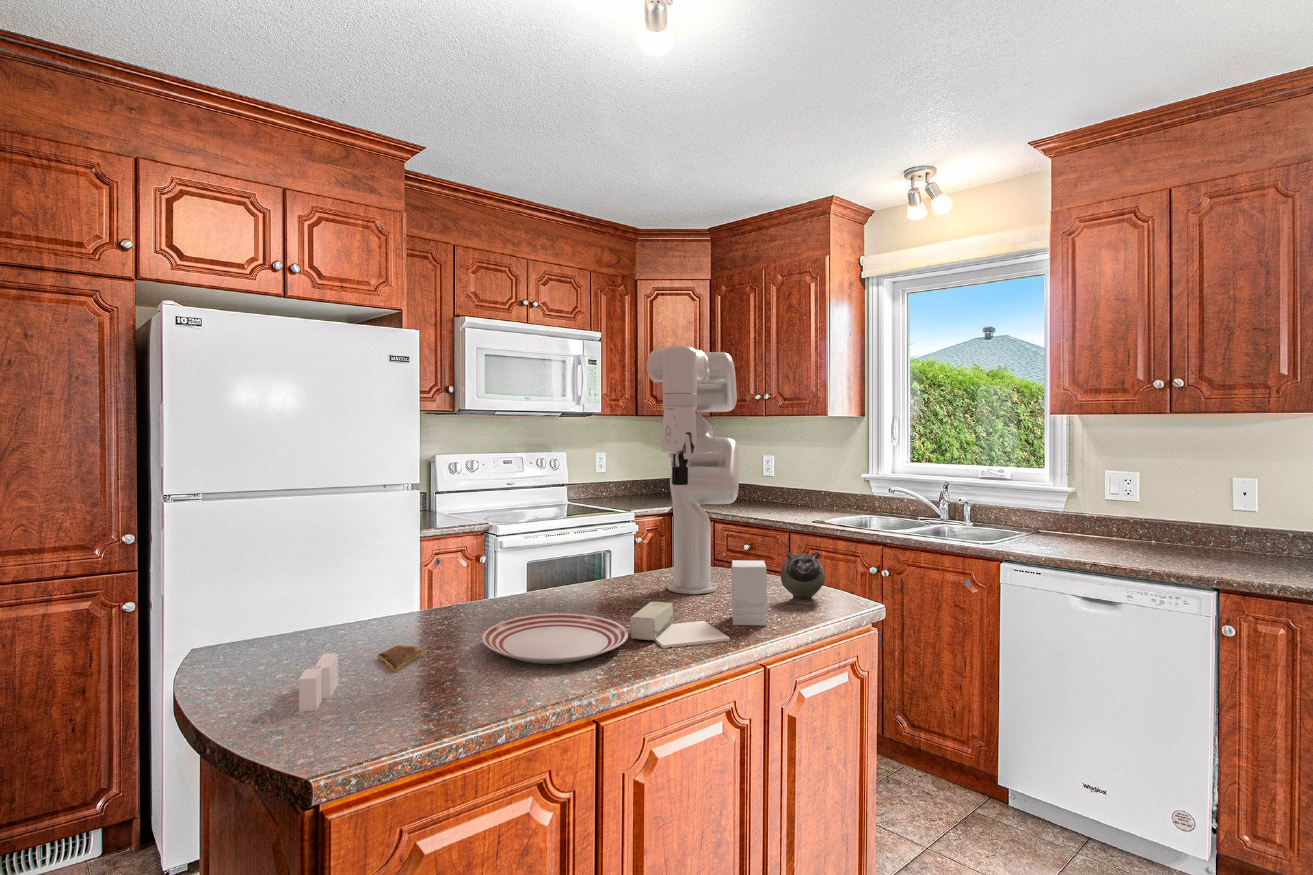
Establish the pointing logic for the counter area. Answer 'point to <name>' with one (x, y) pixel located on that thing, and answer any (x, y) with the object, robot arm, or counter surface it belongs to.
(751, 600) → the supplement box
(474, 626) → the counter surface
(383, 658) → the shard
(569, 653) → the dinner plate
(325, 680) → the pink notched block
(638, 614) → the box
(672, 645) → the beige flat slab
